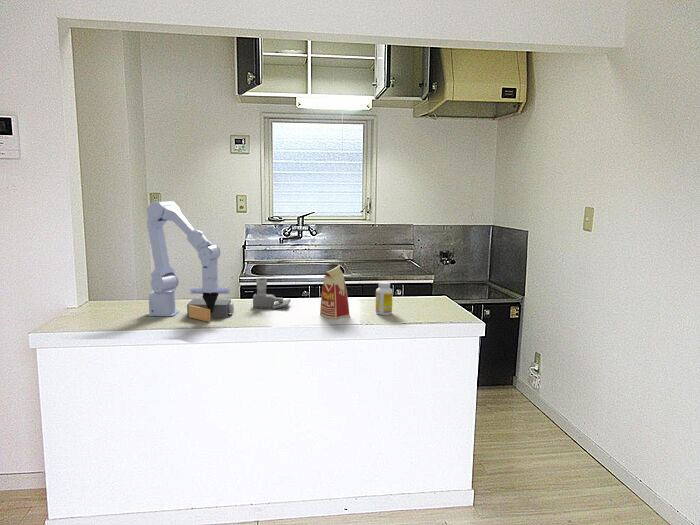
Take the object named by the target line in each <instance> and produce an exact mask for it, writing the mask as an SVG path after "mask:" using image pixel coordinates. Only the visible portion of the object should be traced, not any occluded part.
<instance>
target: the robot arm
mask: <svg viewBox="0 0 700 525" xmlns="http://www.w3.org/2000/svg"><path fill="white" fill-rule="evenodd" d="M146 212H147V219H146V220H147V221H146V226H147V231H148V236H149V242H150V247H151V253H152V259H153V266H154V269H153V270H152V272H151V274H150V276H151V277H150V278H151V280H150V288H151V290H152V291H150V292H149V295H148V312H149V313H148V317H174V316H175V315H176V314H178V312H180V310H179V309H176V290H177V289H176V288H177V287H178V286H179V278H178V277H179V276H177V273H176V270H175V269H174V268H173V267H172V266H171V264H170V260H169V255H168V248H167V242H166V238H165V232H164V225H165V224H166V223H167V222H168V221H170V222H173V223H174V224H175V225H176V226H177V227H178V228H179V229H180V230H181V231H182V232H183V233H184V234H185V235H186V240H187V242H189V244H190V245H191V246H192V247H193V248H194V249H195V250H196V252H197V258H198V259H199V260H200V265H201V279H202V280H201V281H202V287H191V288H189V289H190V290H189V291H190V295H194V294H197V295H199V294H200V295H201V294H202V296H201V297H202V299H204V301H205V303H206V305H207V308H208V309H210V313H213V312H214V306H215V302H216V299H218V296H219V295H225V294H226V295H230V294H231V288H230V287H219V270H218V264H219V263H218V258H220V256H221V249H220V247H219V246H218V245H217V244H214V243H212V242H211V241H210V240H209V239H208V238H207V237H206V236H205V234H204V232H203V231H202V230H199V229H194V226H192V225H191V223H190V222H189V221H188V219H187V218H186V217H185V216H184V214H183V213H182V211H181V208H180V207H179V206H178V205H177V204H176V202H175V201H173V200H171V199H169V200H163V201H162V200H161V201H152V202H151V203H150V204H148V206H147V207H146Z"/></svg>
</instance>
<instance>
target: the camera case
mask: <svg viewBox="0 0 700 525" xmlns="http://www.w3.org/2000/svg"><path fill="white" fill-rule="evenodd" d="M188 305H192V306H197V307H201V308H206V309H208V308H207V305H206V303H205V301H204V299H203V298H192V299H191V300H190V301H189V302H188V303H187V304H186V310H187V315H186V316H187V317H188ZM234 310H235V305H234V303H233V302H232V300H231V298H229V299H228V298H217V299H216V302H215V306H214V312H213V313H210V318H228V316H229V315H230V314H234ZM229 313H230V314H229ZM228 314H229V315H228Z"/></svg>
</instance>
